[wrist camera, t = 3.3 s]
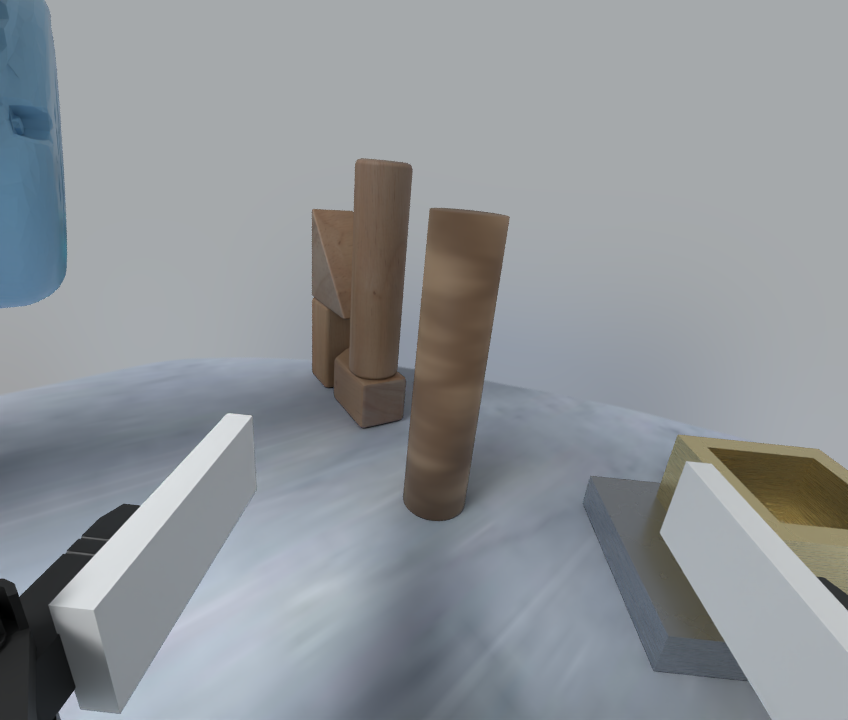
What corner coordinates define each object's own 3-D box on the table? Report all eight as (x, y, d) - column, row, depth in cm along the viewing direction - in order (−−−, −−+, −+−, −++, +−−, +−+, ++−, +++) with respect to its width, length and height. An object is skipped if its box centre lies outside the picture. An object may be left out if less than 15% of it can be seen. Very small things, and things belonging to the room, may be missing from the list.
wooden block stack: (348, 367, 43) (354, 160, 36) (404, 421, 34) (426, 164, 28) (310, 373, 41) (309, 155, 34) (360, 431, 32) (372, 158, 26)
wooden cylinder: (400, 517, 25) (428, 211, 19) (405, 476, 28) (430, 206, 22) (465, 523, 25) (515, 220, 19) (463, 482, 28) (504, 213, 22)
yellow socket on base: (653, 670, 18) (702, 556, 16) (582, 503, 27) (607, 416, 25) (1005, 708, 18) (1105, 598, 16) (814, 527, 27) (860, 441, 25)
